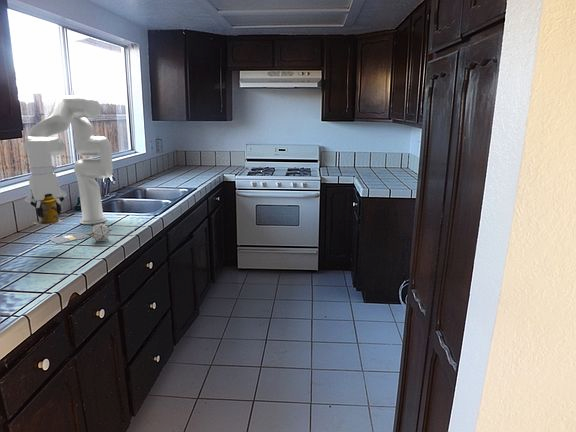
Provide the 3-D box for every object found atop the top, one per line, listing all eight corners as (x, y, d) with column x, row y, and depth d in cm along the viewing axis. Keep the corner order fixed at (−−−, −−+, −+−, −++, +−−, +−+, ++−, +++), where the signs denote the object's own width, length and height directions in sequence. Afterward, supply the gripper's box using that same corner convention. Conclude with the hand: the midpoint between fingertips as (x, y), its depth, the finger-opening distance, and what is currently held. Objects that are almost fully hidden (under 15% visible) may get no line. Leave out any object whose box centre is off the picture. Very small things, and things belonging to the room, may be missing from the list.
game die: (105, 250, 182) (107, 235, 175) (84, 244, 180) (86, 229, 173) (112, 235, 188) (115, 220, 182) (92, 229, 186) (94, 214, 180)
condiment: (63, 221, 173) (59, 192, 169) (43, 226, 165) (38, 196, 162) (52, 218, 176) (48, 190, 173) (32, 223, 169) (27, 194, 166)
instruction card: (48, 239, 184) (48, 238, 184) (81, 232, 195) (81, 232, 194) (57, 244, 178) (57, 243, 178) (90, 237, 188) (90, 236, 188)
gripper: (61, 167, 174) (68, 209, 179) (14, 172, 162) (22, 218, 167) (69, 169, 169) (75, 212, 174) (20, 175, 157) (29, 221, 162)
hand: (49, 214), depth 171 cm, fingers closed on condiment, 6 cm apart
